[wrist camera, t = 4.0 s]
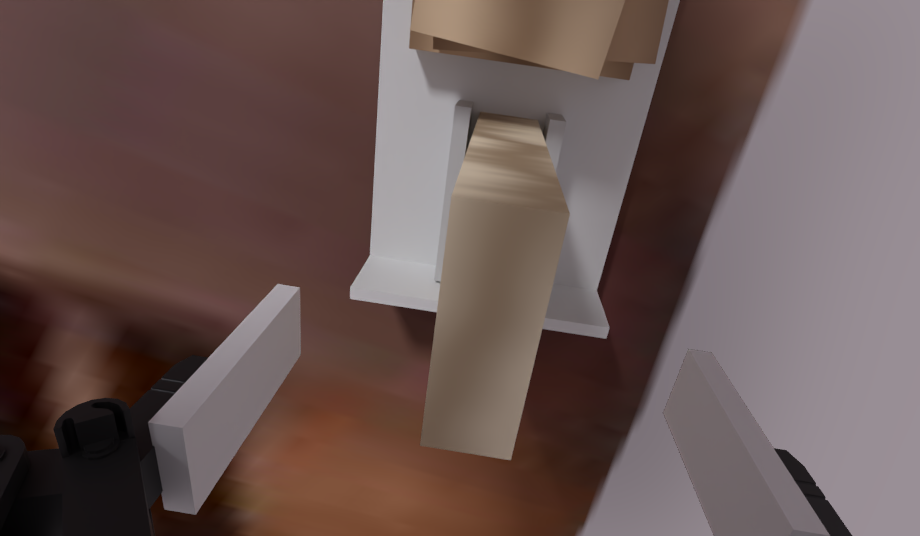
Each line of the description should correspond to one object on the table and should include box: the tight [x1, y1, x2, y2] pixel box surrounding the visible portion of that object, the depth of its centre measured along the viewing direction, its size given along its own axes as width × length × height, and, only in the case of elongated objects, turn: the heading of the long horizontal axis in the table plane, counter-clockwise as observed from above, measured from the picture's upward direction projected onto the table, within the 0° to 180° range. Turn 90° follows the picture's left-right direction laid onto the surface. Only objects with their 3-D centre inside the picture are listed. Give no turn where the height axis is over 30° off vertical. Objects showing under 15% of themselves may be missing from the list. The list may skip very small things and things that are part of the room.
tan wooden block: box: [420, 112, 570, 460], centre depth 24 cm, size 4×10×17 cm, turn 172°
